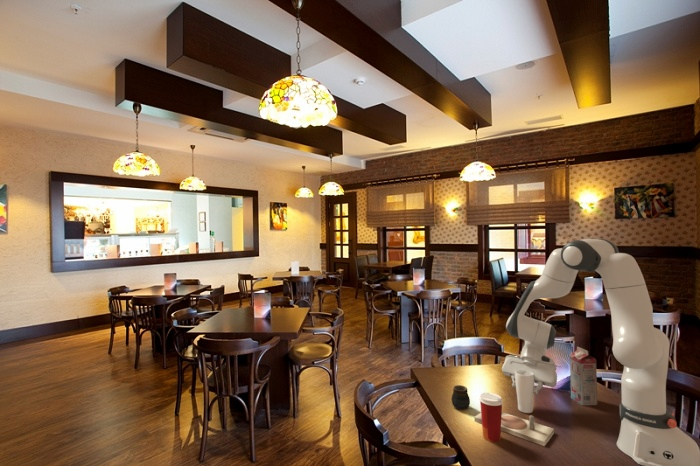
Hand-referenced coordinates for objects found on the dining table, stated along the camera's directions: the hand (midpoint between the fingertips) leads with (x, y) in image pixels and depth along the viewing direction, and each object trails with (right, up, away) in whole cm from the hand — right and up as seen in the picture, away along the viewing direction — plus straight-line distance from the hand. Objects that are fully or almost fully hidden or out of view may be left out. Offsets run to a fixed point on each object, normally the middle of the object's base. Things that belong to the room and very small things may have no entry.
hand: (524, 390), depth 142 cm
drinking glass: (+1, -9, 0) cm, 9 cm away
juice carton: (+29, -8, +8) cm, 31 cm away
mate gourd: (-24, -9, +4) cm, 26 cm away
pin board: (-10, -8, -12) cm, 18 cm away
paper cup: (-20, -8, -18) cm, 29 cm away
